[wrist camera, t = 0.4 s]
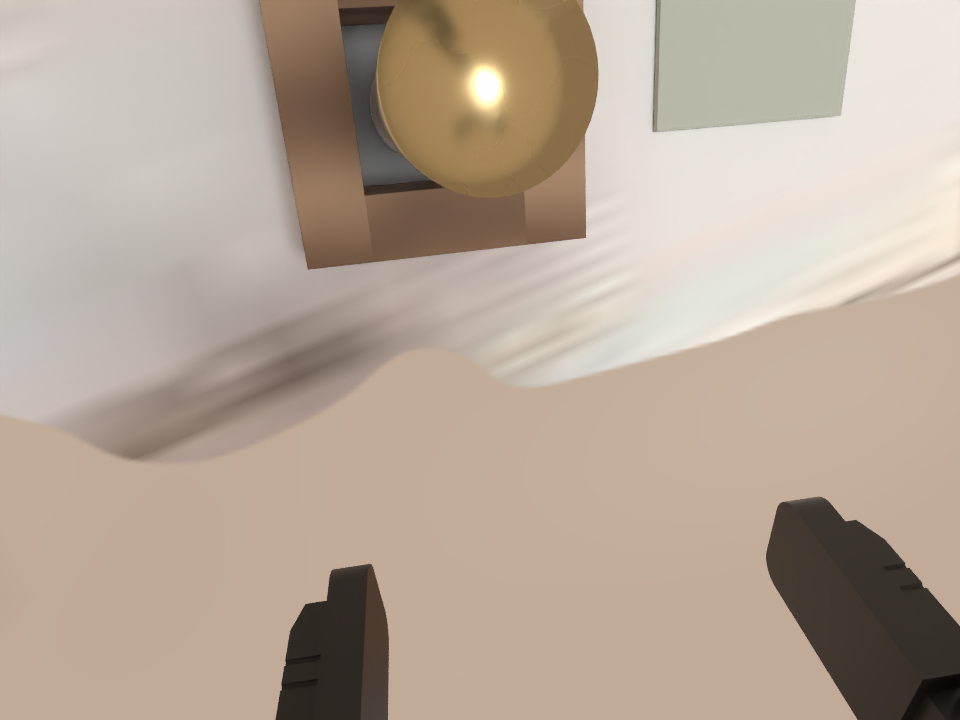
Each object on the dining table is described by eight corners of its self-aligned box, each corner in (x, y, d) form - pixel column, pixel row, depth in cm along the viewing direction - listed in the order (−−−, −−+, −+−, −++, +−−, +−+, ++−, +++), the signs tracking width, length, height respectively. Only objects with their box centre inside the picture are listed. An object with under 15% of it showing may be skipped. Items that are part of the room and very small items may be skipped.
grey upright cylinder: (356, 40, 26) (361, -46, 13) (480, 33, 27) (598, -55, 14) (374, 172, 28) (393, 207, 15) (488, 161, 29) (598, 187, 16)
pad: (659, -116, 26) (664, -120, 26) (865, -121, 28) (871, -124, 27) (653, 131, 30) (657, 131, 30) (834, 115, 31) (840, 115, 31)
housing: (260, -47, 24) (244, -79, 21) (549, -58, 26) (582, -88, 23) (313, 251, 29) (307, 269, 25) (557, 224, 31) (585, 237, 27)
